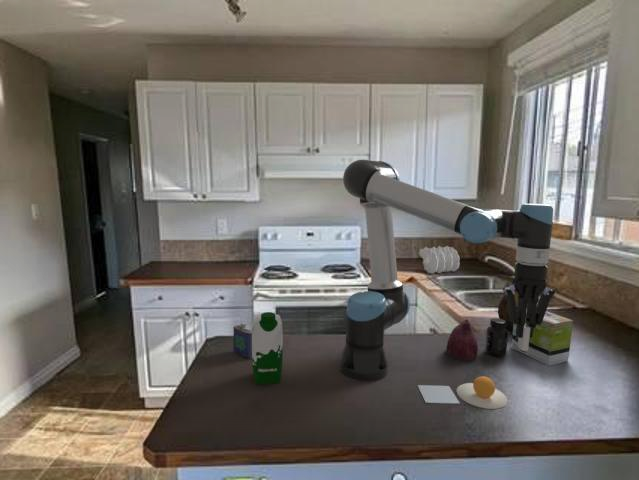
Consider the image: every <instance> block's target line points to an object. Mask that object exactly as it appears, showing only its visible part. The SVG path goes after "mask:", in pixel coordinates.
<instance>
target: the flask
mask: <svg viewBox="0 0 639 480" xmlns="http://www.w3.org/2000/svg"><path fill="white" fill-rule="evenodd" d="M232 343H233V349H232V351H233V354H234V355H236V356H238V357H241V358H244V359H245V360H252V329H247V328H246V323H244V324H243V323H240V324H239V325H237V324H236V325H234V326H233V342H232Z"/></svg>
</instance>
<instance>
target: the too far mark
mask: <svg viewBox="0 0 639 480" xmlns="http://www.w3.org/2000/svg"><path fill="white" fill-rule="evenodd" d="M417 388H418V390H419V391H420V392H419V393H420V394H421V396H422V399H423V401H424V402H425V404H444V405H445V404H447V405H448V404H449V405H451V404H452V405H460V404H461V403H460V401H459V400H458V398H457V396H456V395H455V393H454V391H453V390H452V389H451V387H450V385H426V384H425V385H424V384H423V385H421V384H419V385H418V384H417Z"/></svg>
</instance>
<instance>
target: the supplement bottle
mask: <svg viewBox="0 0 639 480" xmlns="http://www.w3.org/2000/svg"><path fill="white" fill-rule="evenodd" d="M505 327H506V321H505V320H503V319H499V317H498V318H497V317H493V318H491V319H490V322H489V326H488V327H486V331H485V343H484V353H485V354H486V355H488V356H489V357H493V358H498V359H499V358H505V357H506V356H507V353H508V352H507V351H508V350H507V349H508V339H509V333H508V330H507V329H506V328H505Z"/></svg>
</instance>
